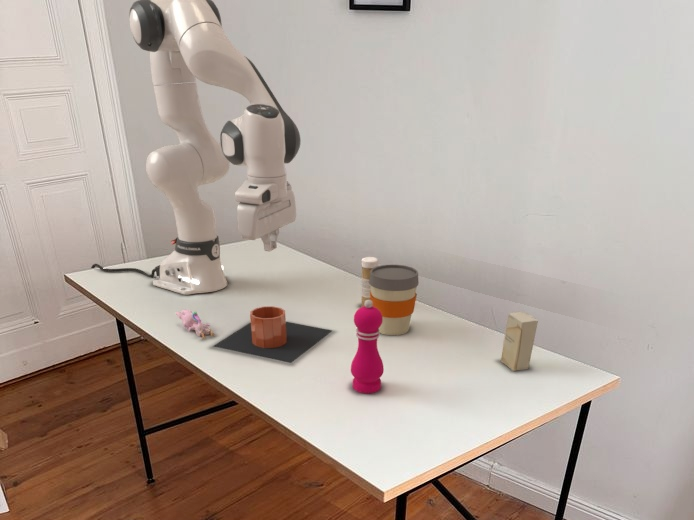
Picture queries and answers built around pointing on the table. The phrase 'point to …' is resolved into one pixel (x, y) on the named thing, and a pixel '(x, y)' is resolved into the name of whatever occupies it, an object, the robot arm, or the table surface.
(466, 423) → the table surface
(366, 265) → the spice jar
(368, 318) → the pepper mill
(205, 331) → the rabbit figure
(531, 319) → the cosmetic box
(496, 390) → the table surface
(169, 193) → the robot arm
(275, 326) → the cup
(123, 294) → the table surface
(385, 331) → the reusable coffee cup
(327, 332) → the mat
